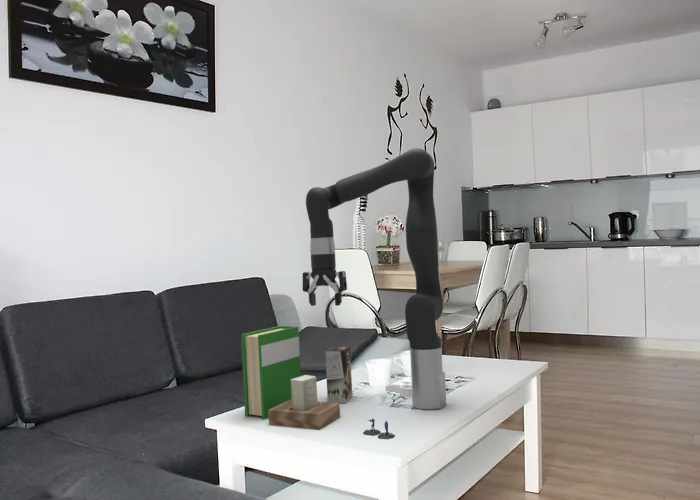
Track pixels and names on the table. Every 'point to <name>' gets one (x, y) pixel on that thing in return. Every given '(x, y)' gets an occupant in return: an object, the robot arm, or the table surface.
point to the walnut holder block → (304, 415)
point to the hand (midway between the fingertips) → (325, 305)
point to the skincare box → (304, 392)
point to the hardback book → (269, 367)
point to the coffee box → (338, 374)
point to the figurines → (382, 435)
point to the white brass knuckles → (401, 387)
